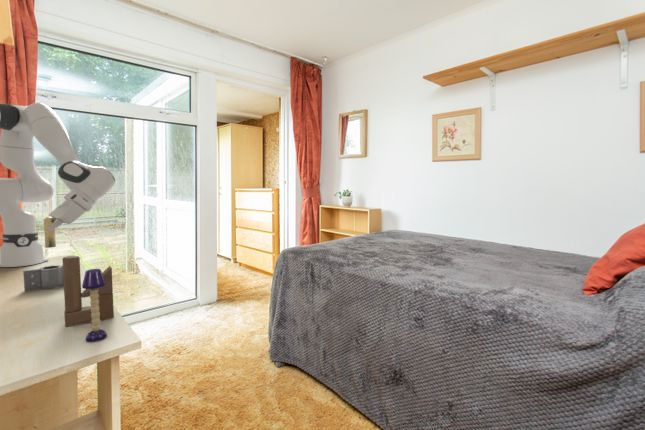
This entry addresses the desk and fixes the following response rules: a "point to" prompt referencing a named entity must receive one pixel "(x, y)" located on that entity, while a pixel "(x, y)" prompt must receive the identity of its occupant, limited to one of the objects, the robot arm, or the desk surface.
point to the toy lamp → (94, 302)
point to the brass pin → (49, 233)
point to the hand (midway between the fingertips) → (47, 229)
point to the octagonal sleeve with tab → (43, 278)
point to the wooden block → (84, 294)
